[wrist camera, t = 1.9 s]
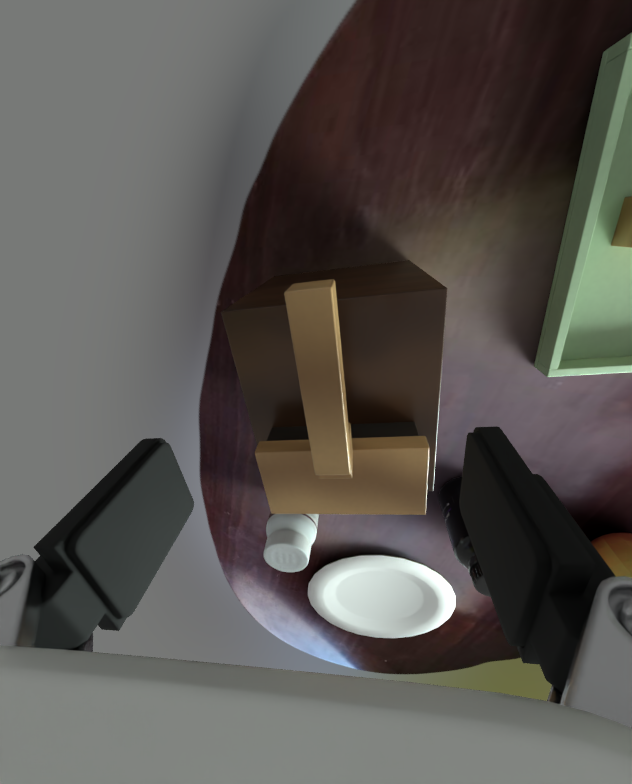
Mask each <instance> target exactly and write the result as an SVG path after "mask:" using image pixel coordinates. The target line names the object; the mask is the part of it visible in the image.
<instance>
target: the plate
mask: <svg viewBox="0 0 632 784" xmlns="http://www.w3.org/2000/svg"><path fill="white" fill-rule="evenodd" d="M308 597H309V600H310V603H311V605H312V606H313V608H314V609H315V610H316V611H317V613H318V614H319V615H320V616H322V617H323V618H324V619H326V620H327V621H328V622H330V623H331V624H333V625H335V626H337V627H340V628H342V629H344V630H346V631H350V632H353V633H356V634H359V635H365V636H371V637H376V638H402V637H411V636H415V635H419V634H423V633H427V632H429V631H431V630H433V629H435V628H437V627H439V626H440V625H442V624H443V623H444V622H445V621H446V620H447V619H449V618H450V616H451V614H452V613H453V611H454V609H455V598H456V596H455V594H454V592H453V590H452V587H451V585H450V584H449V583H448V582H447V581H446V580H445V579H444V578H443V577H442V576H441V575H440V574H439V573H438V572H436V571H434V570H433V569H431V568H429V567H427V566H426V565H424V564H422V563H419V562H415V561H412V560H409V559H406V558H403V557H397V556H391V555H384V554H360V555H355V556H350V557H344V558H341V559H338V560H336V561H333V562H331V563H328V564H326V565H325V566H323V567H322V568H321V569H319V570H318V571H317V572H316V573H315V574H314V575H313V577H312V578H311V580H310V582H309V584H308Z"/></svg>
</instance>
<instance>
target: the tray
mask: <svg viewBox="0 0 632 784" xmlns="http://www.w3.org/2000/svg"><path fill="white" fill-rule="evenodd" d="M630 196H632V33H630V34H629V35H627V36H626V37H624V38H623V39H621V40H620V41H619V42H617V43H616V44H614V45H613V46H611V47H610V48H608V49H607V50H605V51H604V52H603V55H602V60H601V64H600V69H599V73H598V78H597V82H596V87H595V92H594V96H593V101H592V105H591V110H590V114H589V119H588V123H587V128H586V132H585V137H584V142H583V146H582V151H581V155H580V160H579V164H578V169H577V173H576V178H575V182H574V187H573V191H572V196H571V201H570V205H569V210H568V214H567V219H566V223H565V228H564V232H563V237H562V241H561V246H560V251H559V255H558V260H557V264H556V269H555V273H554V278H553V282H552V287H551V291H550V296H549V300H548V305H547V310H546V314H545V319H544V323H543V328H542V332H541V337H540V341H539V346H538V350H537V355H536V360H535V364H534V367H535V368H537V369H538V370H539V371H540V372H542V373H543V374H544V375H545V376H547V377H555V376H573V375H590V374H607V373H624V372H632V248H629V247H618V246H611V243H612V239H613V236H614V232H615V229H616V226H617V222H618V219H619V215H620V212H621V208H622V205H623V201H624V198H625V197H630Z"/></svg>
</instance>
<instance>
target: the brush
mask: <svg viewBox="0 0 632 784" xmlns="http://www.w3.org/2000/svg"><path fill="white" fill-rule="evenodd" d="M284 296H285V302H286V308H287V313H288V319H289V325H290V331H291V337H292V343H293V349H294V355H295V360H296V366H297V372H298V378H299V384H300V390H301V396H302V402H303V407H304V413H305V419H306V425H307V426H295V427H273V428H272V429H271V431H270V433H269V436H268V438H267V441H260V442H259V443H258V446H257V448H256V450H255V456H256V460H257V463H258V467H259V471H260V474H261V478H262V481H263V485H264V489H265V492H266V496H267V499H268V503H269V506H270V510H271V513H272V514H402V515H425V514H426V501H427V483H428V465H429V445H428V442H427V439H426V436H419V434H418V431H417V427H416V424H415V422H395V423H370V424H350V423H348V413H347V402H346V392H345V381H344V370H343V360H342V349H341V338H340V328H339V317H338V306H337V296H336V285H335V280H334V279H329V280H321V281H312V282H304V283H295V284H292V285H291V286H290V287H289V288H288V289H287V290H286V291H285V293H284Z"/></svg>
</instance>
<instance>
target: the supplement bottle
mask: <svg viewBox="0 0 632 784" xmlns="http://www.w3.org/2000/svg"><path fill="white" fill-rule="evenodd" d="M461 483H462V477H458V478H454V479H452V480H450V481H448V482H447V483H445V484H444V485H443V486H442V488H441V489H440V492H439V496H438V498H439V503H440V507H441V510H442V514H443V517H444V520H445V524H446V527H447V531H448V534H449V538H450V541H451V544H452V548H453V551H454V554H455V557H456V558H457V560H458V561H459V562H460V563H461V564H462V565H463V566H464V567H466V568H468V571H469V574H470V576H471V578H472V581H473V584H474V587H475V588H476V590H477V591H478V592H480V593H481V594H484V595H486V596H489V597H491V595H490V593H489V590H488V587H487V584H486V581H485V579H484V576H483V573H482V570H481V568H480V565H479V562H478V559H477V556H476V554H475V551H474V548H473V545H472V542H471V540H470V537H469V534H468V531H467V529H466V526H465V523H464V520H463V517H462V515H461V511H460V505H459V500H460V491H461Z"/></svg>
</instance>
